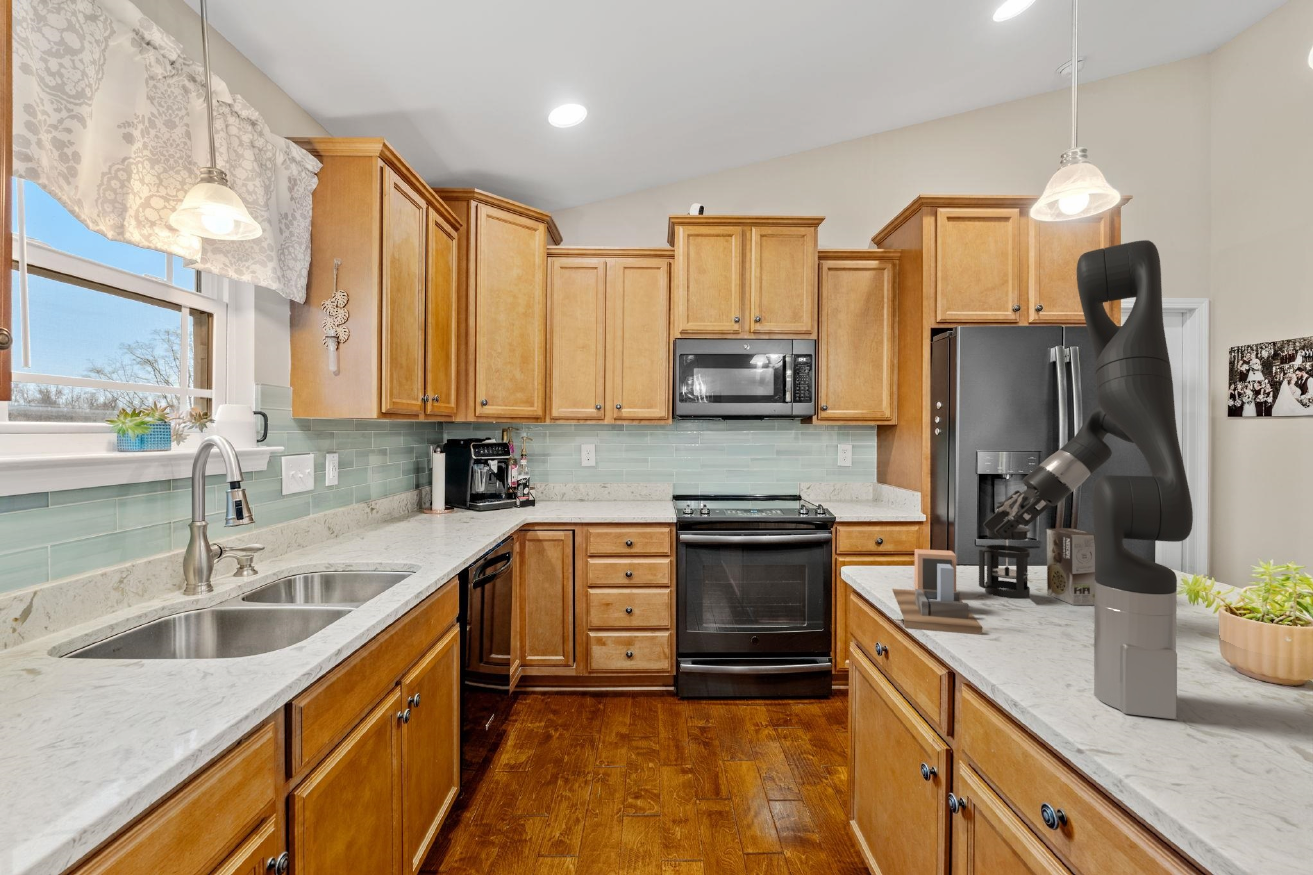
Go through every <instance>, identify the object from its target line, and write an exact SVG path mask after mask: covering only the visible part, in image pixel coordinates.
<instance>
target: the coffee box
mask: <svg viewBox="0 0 1313 875" xmlns="http://www.w3.org/2000/svg"><path fill="white" fill-rule="evenodd" d="M1046 572H1047V573H1046V575H1047V576H1046V578H1047V579H1046V580H1047V581H1046V583H1047V584H1046V585H1047V586H1046V588H1047V589H1046V591H1047V592H1046V593H1047V595H1048V596H1051V597H1052V598H1055V599H1058V600H1060V601H1062V602H1065V603H1067V604H1069V605H1073V606H1094V600H1095V534H1094V532H1089V531H1086V530H1082V529H1081V530H1080V529H1076V528H1071V527H1065V528H1063V527H1062V528H1046Z"/></svg>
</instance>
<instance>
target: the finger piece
mask: <svg viewBox="0 0 1313 875" xmlns="http://www.w3.org/2000/svg"><path fill="white" fill-rule="evenodd" d="M930 600H934V599H928V607H929V609H930ZM935 601H949V602H959V601H954V568H953V567H952V566H951V565H950V564H937V600H935Z"/></svg>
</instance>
